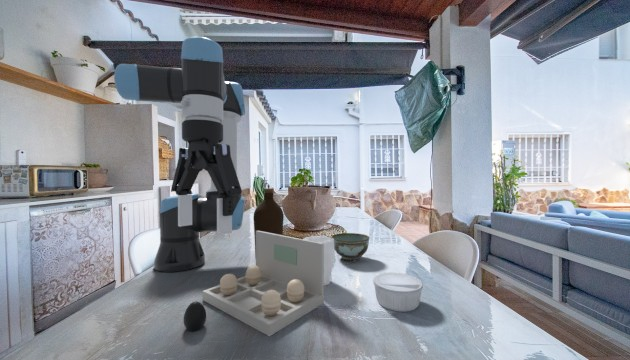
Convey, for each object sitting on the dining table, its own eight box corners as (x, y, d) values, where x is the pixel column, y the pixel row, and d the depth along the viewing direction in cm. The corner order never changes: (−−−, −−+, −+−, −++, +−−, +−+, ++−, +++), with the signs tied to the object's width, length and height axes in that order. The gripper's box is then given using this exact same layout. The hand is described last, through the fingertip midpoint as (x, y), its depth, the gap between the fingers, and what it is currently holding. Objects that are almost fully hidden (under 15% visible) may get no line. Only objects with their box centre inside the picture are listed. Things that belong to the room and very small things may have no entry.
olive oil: (274, 264, 91) (274, 189, 90) (247, 261, 94) (247, 189, 94) (288, 255, 101) (288, 188, 100) (263, 252, 104) (263, 187, 104)
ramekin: (396, 319, 56) (396, 294, 56) (363, 298, 66) (363, 276, 66) (433, 307, 62) (433, 284, 62) (397, 289, 72) (397, 269, 71)
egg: (210, 323, 55) (210, 299, 55) (195, 335, 51) (195, 308, 51) (194, 320, 56) (194, 296, 56) (178, 330, 52) (178, 305, 52)
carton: (202, 300, 65) (202, 241, 65) (258, 279, 78) (257, 230, 78) (269, 336, 50) (269, 261, 50) (323, 303, 63) (323, 243, 63)
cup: (331, 290, 71) (332, 244, 71) (298, 287, 73) (298, 242, 72) (336, 277, 80) (336, 236, 79) (306, 275, 81) (306, 235, 81)
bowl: (373, 265, 90) (373, 241, 90) (332, 264, 91) (332, 241, 90) (365, 253, 104) (365, 232, 104) (330, 253, 104) (330, 232, 104)
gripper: (153, 125, 58) (154, 225, 58) (226, 108, 43) (226, 241, 43) (187, 130, 64) (187, 220, 64) (261, 117, 49) (261, 233, 50)
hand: (203, 229), depth 54 cm, fingers open, 13 cm apart
